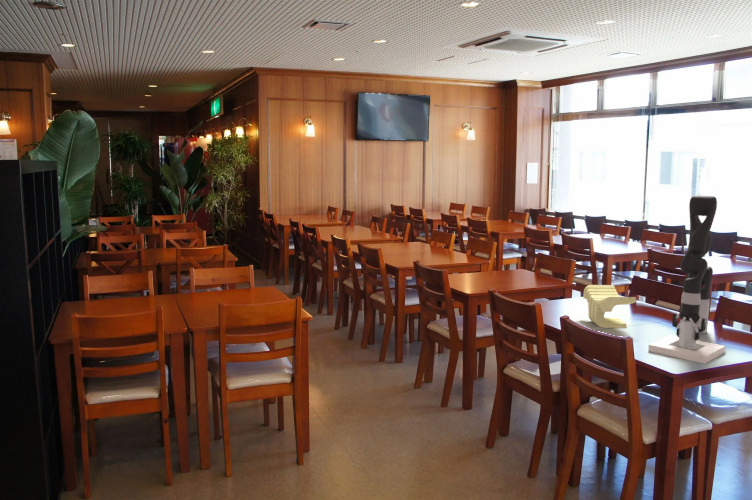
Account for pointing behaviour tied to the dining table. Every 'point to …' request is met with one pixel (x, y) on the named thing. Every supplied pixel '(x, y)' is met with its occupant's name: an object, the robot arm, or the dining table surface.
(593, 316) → the slatted curved stool
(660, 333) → the dining table surface
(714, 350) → the white square frame
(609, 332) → the dining table surface
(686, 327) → the skincare box
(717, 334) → the dining table surface
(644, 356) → the dining table surface
